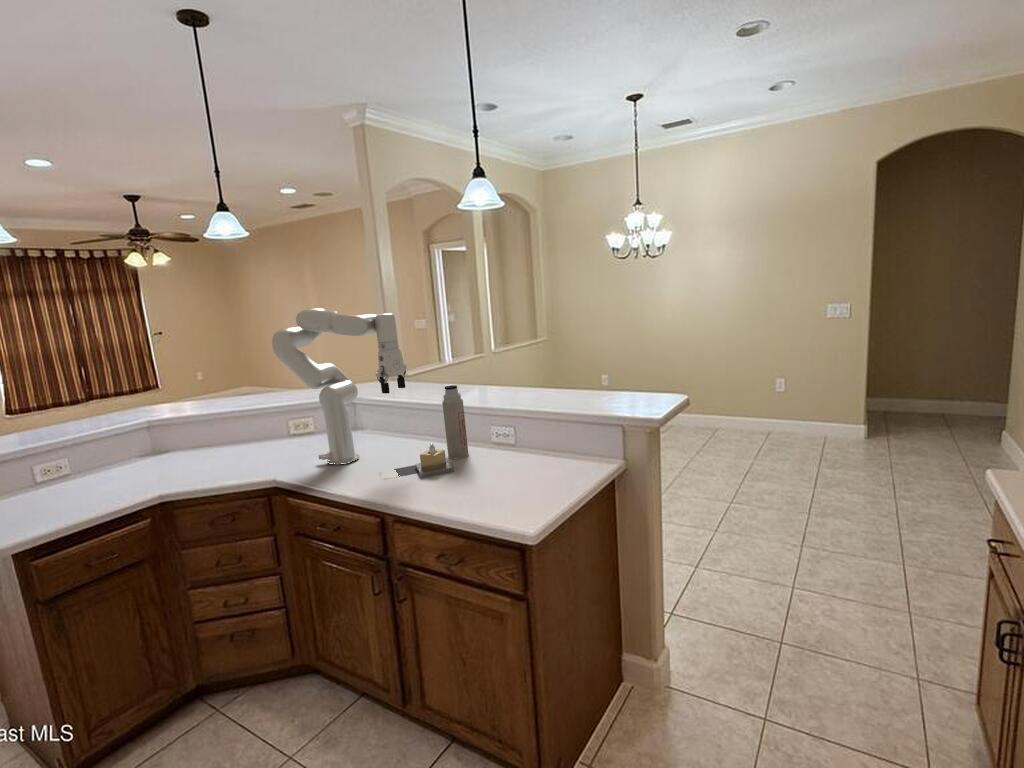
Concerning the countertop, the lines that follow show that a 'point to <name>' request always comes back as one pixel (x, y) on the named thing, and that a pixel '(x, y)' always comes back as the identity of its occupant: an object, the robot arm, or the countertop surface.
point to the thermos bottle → (454, 423)
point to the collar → (433, 459)
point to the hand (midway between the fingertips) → (394, 390)
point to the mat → (406, 470)
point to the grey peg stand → (432, 472)
